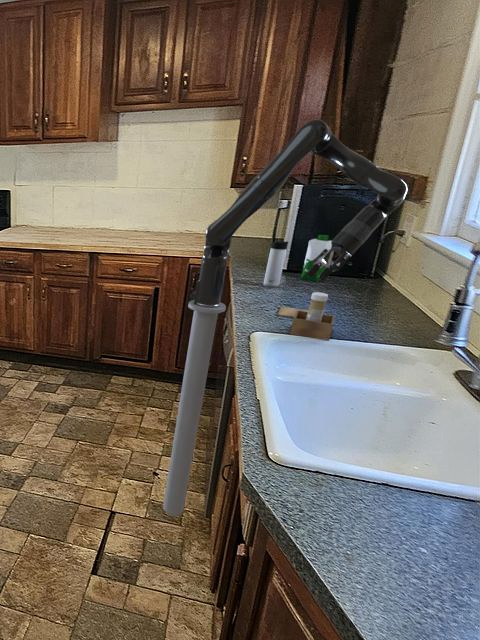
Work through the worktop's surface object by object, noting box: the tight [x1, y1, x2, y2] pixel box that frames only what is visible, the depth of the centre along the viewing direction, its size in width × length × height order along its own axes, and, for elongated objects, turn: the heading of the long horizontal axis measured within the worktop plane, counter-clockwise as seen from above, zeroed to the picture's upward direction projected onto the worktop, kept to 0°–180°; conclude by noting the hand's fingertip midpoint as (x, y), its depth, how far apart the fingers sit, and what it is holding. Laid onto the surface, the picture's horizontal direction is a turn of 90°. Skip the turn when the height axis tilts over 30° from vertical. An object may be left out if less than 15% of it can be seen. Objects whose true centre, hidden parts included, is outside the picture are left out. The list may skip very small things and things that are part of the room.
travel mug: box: [262, 241, 289, 289], centre depth 230 cm, size 6×7×20 cm
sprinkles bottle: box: [306, 291, 329, 322], centre depth 174 cm, size 5×5×13 cm
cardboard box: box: [289, 310, 336, 342], centre depth 175 cm, size 11×11×6 cm
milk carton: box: [300, 234, 333, 283], centre depth 242 cm, size 9×9×20 cm
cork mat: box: [276, 306, 309, 319], centre depth 195 cm, size 12×12×1 cm
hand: (314, 277), depth 174 cm, fingers open, 8 cm apart
